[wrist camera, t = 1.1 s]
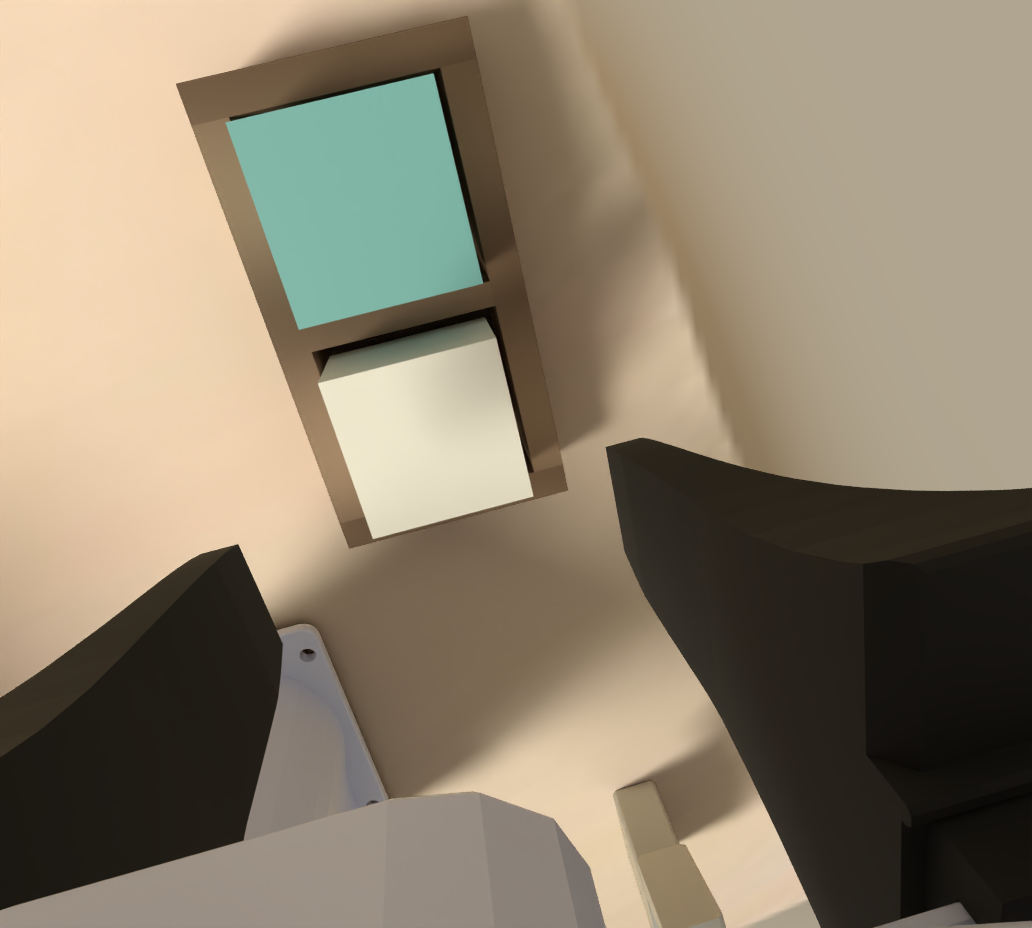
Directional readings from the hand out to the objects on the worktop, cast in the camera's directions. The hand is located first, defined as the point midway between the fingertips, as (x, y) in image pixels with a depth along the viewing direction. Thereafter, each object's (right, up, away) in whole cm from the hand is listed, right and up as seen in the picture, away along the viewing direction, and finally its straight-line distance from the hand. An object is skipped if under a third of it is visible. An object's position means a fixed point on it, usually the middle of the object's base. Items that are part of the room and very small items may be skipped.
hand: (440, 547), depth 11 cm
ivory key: (-1, +3, +7) cm, 7 cm away
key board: (-2, +6, +8) cm, 10 cm away
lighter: (+6, -12, +16) cm, 21 cm away
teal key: (-2, +7, +5) cm, 9 cm away
